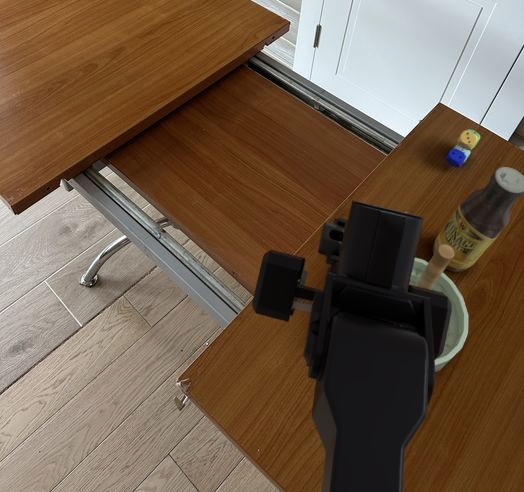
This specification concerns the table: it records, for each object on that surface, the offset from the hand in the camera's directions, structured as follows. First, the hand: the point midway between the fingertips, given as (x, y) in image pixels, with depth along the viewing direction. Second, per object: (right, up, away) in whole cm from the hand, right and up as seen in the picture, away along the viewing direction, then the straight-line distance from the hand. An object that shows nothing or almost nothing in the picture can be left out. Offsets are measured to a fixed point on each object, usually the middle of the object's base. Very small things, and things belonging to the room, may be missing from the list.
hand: (343, 285), depth 59 cm
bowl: (+10, -8, +12) cm, 17 cm away
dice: (+25, +13, +33) cm, 44 cm away
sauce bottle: (+19, -1, +19) cm, 27 cm away
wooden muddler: (+10, -8, +11) cm, 17 cm away
